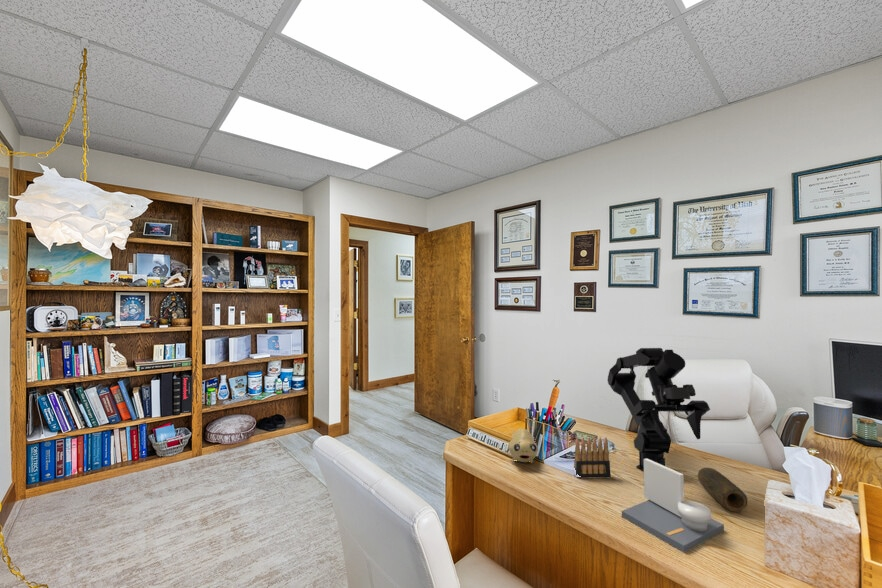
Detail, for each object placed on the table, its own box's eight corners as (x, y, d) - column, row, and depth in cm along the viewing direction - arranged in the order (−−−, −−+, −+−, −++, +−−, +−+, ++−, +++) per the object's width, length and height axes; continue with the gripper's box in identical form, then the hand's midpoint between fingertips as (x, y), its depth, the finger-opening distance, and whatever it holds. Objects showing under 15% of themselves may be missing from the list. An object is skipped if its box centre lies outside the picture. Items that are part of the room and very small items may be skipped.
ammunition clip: (608, 474, 116) (607, 436, 116) (610, 477, 114) (610, 438, 114) (573, 475, 116) (573, 436, 116) (576, 478, 114) (575, 438, 114)
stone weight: (754, 516, 93) (754, 489, 93) (724, 514, 94) (723, 487, 94) (718, 486, 108) (718, 463, 108) (692, 485, 109) (692, 462, 109)
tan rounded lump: (510, 469, 120) (509, 436, 120) (507, 454, 132) (506, 424, 132) (541, 471, 119) (540, 437, 119) (535, 455, 131) (535, 424, 131)
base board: (621, 516, 94) (621, 502, 94) (661, 500, 101) (660, 487, 101) (683, 552, 80) (683, 536, 80) (724, 530, 88) (723, 515, 88)
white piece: (717, 527, 86) (716, 483, 86) (699, 534, 83) (698, 489, 83) (654, 493, 100) (653, 456, 101) (637, 499, 98) (636, 460, 98)
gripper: (640, 373, 106) (658, 428, 97) (708, 373, 105) (733, 429, 96) (627, 389, 115) (642, 441, 105) (689, 390, 114) (710, 442, 104)
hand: (681, 438), depth 103 cm, fingers open, 9 cm apart
